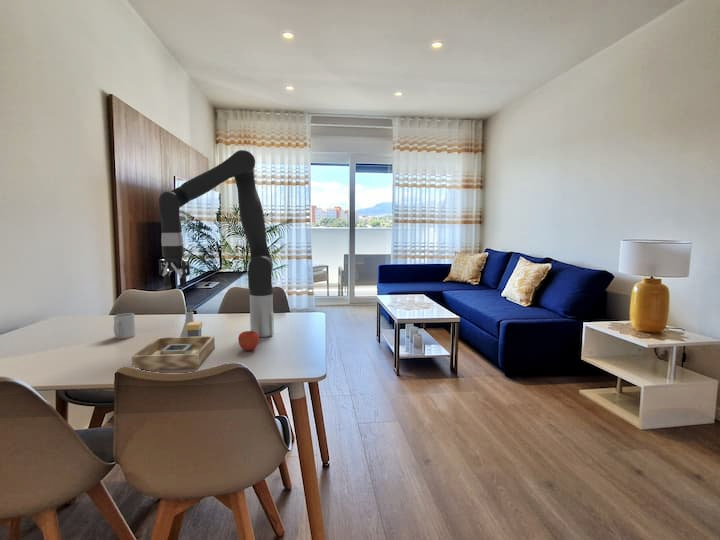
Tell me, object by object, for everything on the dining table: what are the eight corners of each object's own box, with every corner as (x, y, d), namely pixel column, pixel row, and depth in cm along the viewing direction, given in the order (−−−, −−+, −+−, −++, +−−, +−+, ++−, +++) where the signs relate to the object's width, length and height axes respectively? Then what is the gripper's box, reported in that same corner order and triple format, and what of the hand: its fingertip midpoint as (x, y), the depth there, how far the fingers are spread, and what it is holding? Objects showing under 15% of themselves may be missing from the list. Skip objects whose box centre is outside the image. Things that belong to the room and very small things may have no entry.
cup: (139, 334, 171) (138, 313, 170) (124, 341, 161) (123, 318, 160) (122, 334, 171) (121, 313, 170) (106, 340, 161) (105, 318, 160)
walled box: (214, 348, 153) (214, 336, 153) (198, 368, 131) (197, 354, 131) (158, 349, 151) (158, 337, 151) (132, 370, 129) (131, 356, 129)
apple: (242, 347, 155) (241, 326, 154) (261, 347, 155) (261, 326, 154) (235, 353, 148) (235, 331, 147) (256, 353, 147) (255, 331, 146)
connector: (202, 341, 161) (202, 321, 160) (199, 345, 157) (198, 324, 156) (190, 342, 161) (189, 322, 160) (186, 345, 156) (186, 324, 155)
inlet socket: (192, 352, 146) (192, 343, 145) (185, 359, 138) (185, 350, 137) (169, 352, 145) (168, 344, 144) (160, 360, 137) (160, 351, 136)
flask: (192, 339, 165) (191, 314, 164) (176, 338, 166) (175, 313, 165) (203, 334, 172) (202, 311, 171) (187, 333, 173) (186, 310, 172)
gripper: (193, 244, 158) (196, 286, 160) (167, 243, 164) (170, 284, 166) (177, 245, 151) (180, 288, 153) (151, 244, 157) (154, 286, 159)
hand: (175, 286), depth 160 cm, fingers open, 8 cm apart
